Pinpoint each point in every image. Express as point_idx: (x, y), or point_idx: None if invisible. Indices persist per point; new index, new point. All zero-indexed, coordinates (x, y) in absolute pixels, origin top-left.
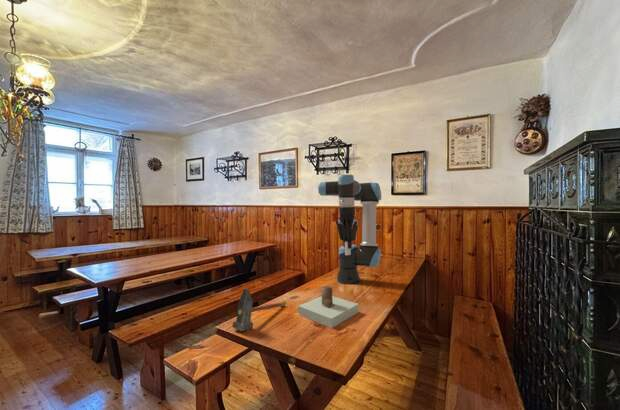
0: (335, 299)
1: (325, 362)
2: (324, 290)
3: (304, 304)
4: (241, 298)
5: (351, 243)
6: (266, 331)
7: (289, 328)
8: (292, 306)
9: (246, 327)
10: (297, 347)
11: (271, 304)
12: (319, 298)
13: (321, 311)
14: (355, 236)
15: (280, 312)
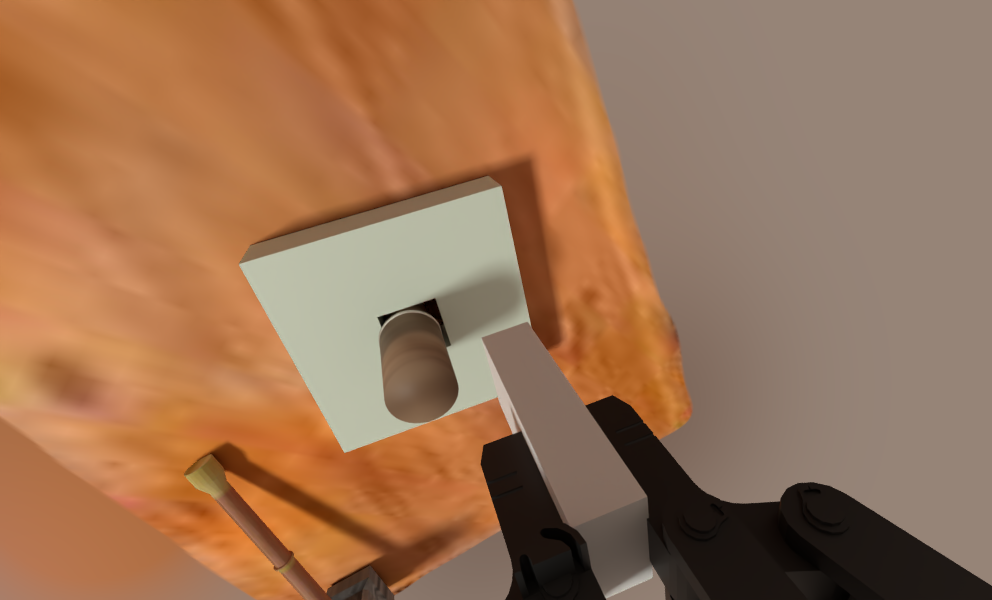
0: (365, 259)
1: None
2: (441, 412)
3: (342, 425)
4: None
5: (675, 465)
6: (417, 531)
7: (440, 473)
8: (232, 424)
9: (385, 588)
10: None
11: (262, 543)
12: (298, 332)
13: (462, 388)
14: (964, 582)
15: (282, 479)
